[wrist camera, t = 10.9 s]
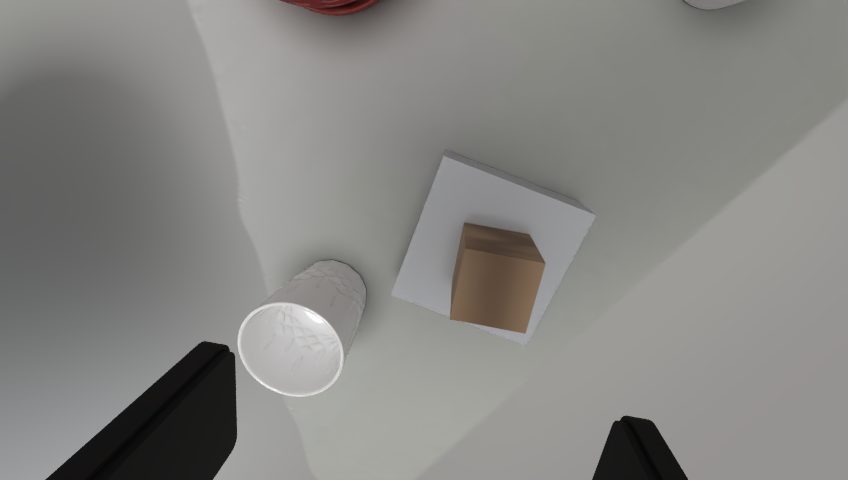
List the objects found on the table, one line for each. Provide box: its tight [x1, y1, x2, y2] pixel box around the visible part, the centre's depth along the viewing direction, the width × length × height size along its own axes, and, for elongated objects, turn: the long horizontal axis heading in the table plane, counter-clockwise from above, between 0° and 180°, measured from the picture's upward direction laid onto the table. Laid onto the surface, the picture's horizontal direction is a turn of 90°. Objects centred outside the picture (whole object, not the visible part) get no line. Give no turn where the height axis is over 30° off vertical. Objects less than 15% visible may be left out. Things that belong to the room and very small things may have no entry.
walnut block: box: [450, 222, 546, 334], centre depth 28 cm, size 5×5×6 cm
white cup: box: [238, 260, 366, 397], centre depth 33 cm, size 8×8×10 cm
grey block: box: [391, 150, 597, 346], centre depth 33 cm, size 12×12×5 cm
